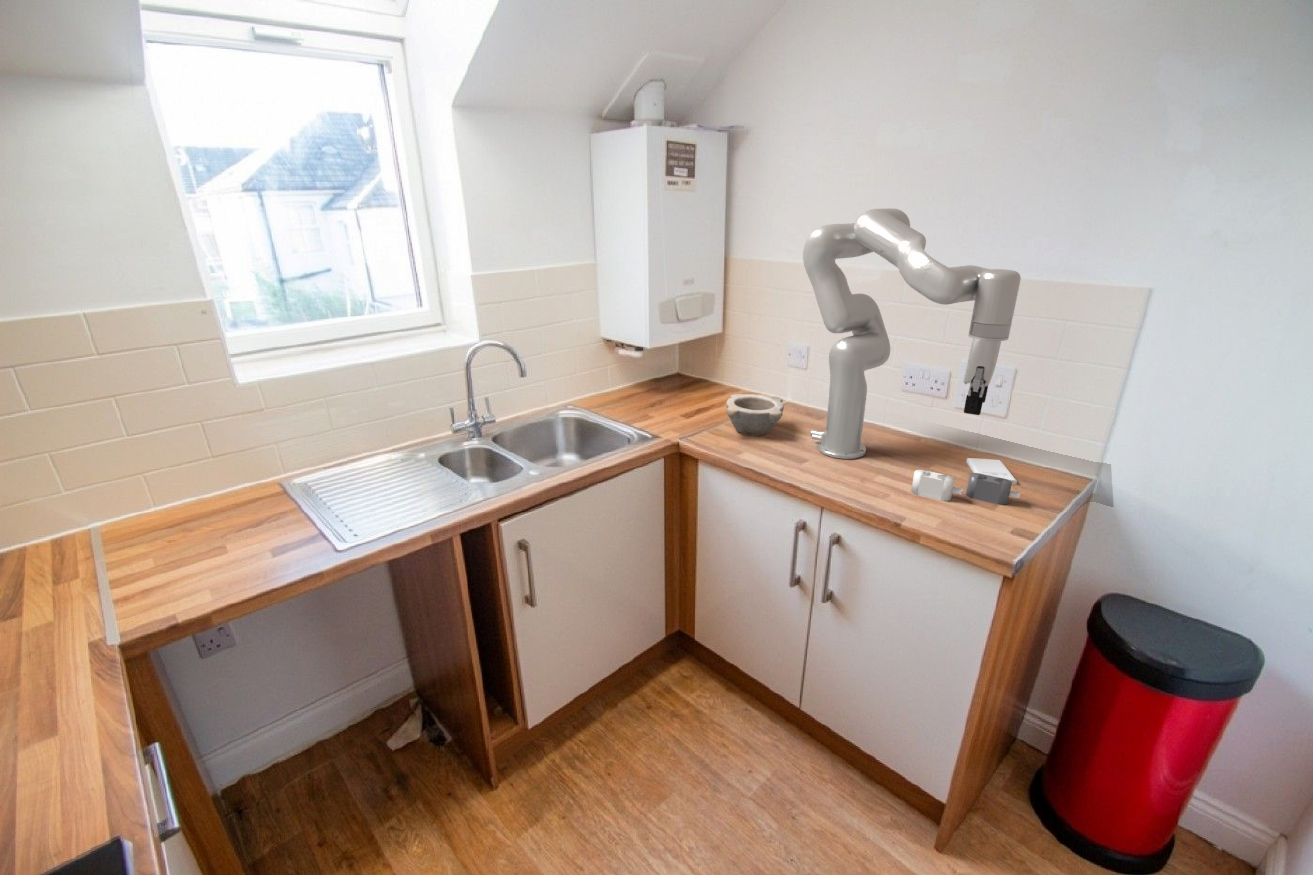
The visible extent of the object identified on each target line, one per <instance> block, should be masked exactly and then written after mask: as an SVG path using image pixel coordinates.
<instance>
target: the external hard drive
mask: <svg viewBox="0 0 1313 875" xmlns="http://www.w3.org/2000/svg"><path fill="white" fill-rule="evenodd" d="M966 464H967V465H968V467H969V468H970V469H971V471H972V473H980V474H985V475H990V476H994V477H999V478H1004V479H1008V480H1010V481H1011V482H1012V485H1016V486H1017V485H1018V484H1017V483H1018V480H1017V479H1016V478H1015V477H1014V476H1013V474H1012V473H1011V472H1010V470H1009V469H1008V468H1007V466H1006V465H1005V464H1004V462H1002V460H999V459H989V458H976V457H967V458H966Z"/></svg>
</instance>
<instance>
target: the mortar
mask: <svg viewBox="0 0 1313 875" xmlns="http://www.w3.org/2000/svg"><path fill="white" fill-rule="evenodd" d="M725 407H726V409H725V410H726V415H727V417H728V418H729V419H730V422H731V424H732V425H733V427H734V429H735V430H736V431H737V432H739V433H740V434H743V435H747V436H755V437H756V436H757V437H759V436H764V435H767V434H769V433H770V432H772V430H773V429H774V428H775V426H776V424H777V423H778V422H779V421H780V420H781V419H782V417H783V411H784V408H785V405H784V403H783V399H782V398H781V397H778V396H772V395H771V396H770V395H763V394H753V393H752V394H750V393H743V394H741V393H736V394H731V395H730V396H729V398H728V399H727V400H726V403H725Z"/></svg>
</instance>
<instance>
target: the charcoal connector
mask: <svg viewBox="0 0 1313 875" xmlns="http://www.w3.org/2000/svg"><path fill="white" fill-rule="evenodd" d="M1012 485H1013V484H1012V482H1011V481H1010V480H1008V479H1004V478H999V477H994V476H990V475H985V474H980V473H974V472H972V473H970V474H969V476H968V480H967V485H966V486H967V487H966V491H965V495H966V496H967V497H968V498H970V499H972V500H973V499H974V500H977V501H982V502H987V503H989V504H990V503H991V504H996V505H1000V506H1005V505H1008V502H1009V498H1010V497H1012V498H1016V499H1020V496H1021V492H1020V491H1015V490H1012Z"/></svg>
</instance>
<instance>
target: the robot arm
mask: <svg viewBox="0 0 1313 875" xmlns="http://www.w3.org/2000/svg"><path fill="white" fill-rule="evenodd" d="M803 245H804V246H803V252H802V260H803V265H804V266H803V267H804V270H805V271H806V274H807V277H808V280H809V281H810V283H811V285H812V289H813V292H814V295H815V296H814V297H815V299H816V302H817V306H818V308H819V311H820V315H821V319H822V322H823V323H824V327H825V328H826V329H827V330H828V331H829V333H832V334H844V333H849V332H850V333H851V332H852V335H849V336H846V337H843V338H841V339H838V340H837V341H836V342H834V344H833V345H832V346H831V348H830V350H829V353H828V364H829V365H828V366H829V376H830V377H829V394H828V403H827V414H826V423H825V424H826V425H825V430H823V431H820V430H816V429H811V430H810V437H811V439H812V440H815V441H816V440H817V441H819V442H818V447H817V449H818V451H819V452H820V453H821V454H824V455H826V456H827V457H831V458H835V459H842V460H843V459H844V460H854V459H859V458H861V457H864V456H865V455H866V453H867V452H866V451H867V448H866V446H865V445H864V444H862V436H863V428H864V419H865V411H866V404H867V396H868V395H867V394H868V384H867V380H866V375H865V371H868V370H871V369H876V368H878V367H881V366H883V365H884V364H885V363H887V361H888V360H889V358H890V355H891V343H890V342H891V341H890V339H889V336H888V333H887V330H886V326H885V323H884V320H883V316H882V314H881V310H880V309H879V308H880V307H879V305H878V304H877V302H876V301H875V300H874V299H873V298H872V296H870V295H868V294H866V293H854V294H853V293H852V291H851V289H850V287H849V284H848V280H847V277H846V275H845V273H844V272H843V270H842V269H841V267H839V265H838V264H837V263H836V260H838V259H840V260H841V259H851V258H856V257H857V258H858V257H861V256H866V255H868V254H871V253H873V252H874V254H877V255H878V256H880V257H881V258H883V259H884V260H886V261H887V262H888V263H890V264H891V265H893V266H894V267H896V268H897V269H898V272H899V274H900V275H901V277H902V279H903V281H905V283H906V284H907V285H908V286H909V287H910V288H911V289H913V290H915V291H916V292H917V293H919V294H920V295H921V296H923V297H924V298H926V299H928V300H929V301H931V302H933V303H936V304H939V305H943V306H944V305H947V306H948V305H953V304H958V303H965V302H972V301H974V303H973V308H972V315H971V320H970V325H969V331H968V337H969V338H971V339H972V342H971V346H970V350H969V354H968V359H967V363H966V369H965V374H964V377H963V378H964V379H963V383H964V384H965V385H967V384H969V389H968V392H967V395H966V397H965V402H964V408H963V413H964V414H967V415H975V416H980V415H981V413H982V407H983V403H986V398H987V393H988V388H989V386H990V383H991V380H992V379H993V375H994V372H995V369H996V366H997V363H998V357H999V353H1000V349H1001V344H1002V341H1003V342H1004V341H1008V340H1009V337H1010V334H1011V333H1010V332H1011V328H1012V322H1013V318H1014V314H1015V310H1016V305H1017V304H1016V303H1017V298H1018V294H1019V291H1020V290H1019V289H1020V284H1021V278H1022V277H1021V274H1020V273H1019V272H1018V271H1016V270H1013V269H1004V268H1003V269H1000V268H999V269H998V268H994V269H993V268H992V269H991V268H986V267H982V266H977V265H971V264H970V265H959V266H951V267H948V266H947V265H944V263H941V262H940V261H938V260H936V259H935V258H934V257H932V256H931V255H929V254H928V253H927V252H926V251H925V248H926V245H927V239H926V236H925V235H924V234H923V233H921V232H919V231H917V230H916V229H914V228H912V227H911V222H910V218H909V217H908V215H907V214H906V213H905V212H904V211H902V210H901V209H898V208H890V207H889V208H873V209H869V210H866V211H864V212H862V213H861V214H860V215H859V216H858V217H857V219H856V220H855V223H853V222H852V223H833V224H832V223H829V224H826V225H821V226H819V227H818V228H815V229H814V230H813V231H812V232H811V233H810V234H809V235H808V237H807V238H806V240H805V243H804V244H803Z"/></svg>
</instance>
